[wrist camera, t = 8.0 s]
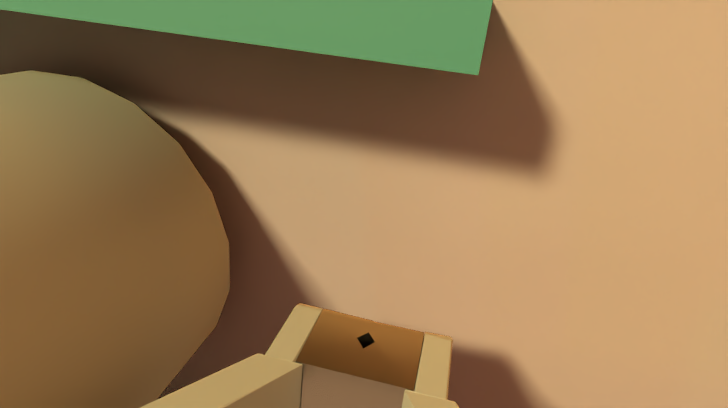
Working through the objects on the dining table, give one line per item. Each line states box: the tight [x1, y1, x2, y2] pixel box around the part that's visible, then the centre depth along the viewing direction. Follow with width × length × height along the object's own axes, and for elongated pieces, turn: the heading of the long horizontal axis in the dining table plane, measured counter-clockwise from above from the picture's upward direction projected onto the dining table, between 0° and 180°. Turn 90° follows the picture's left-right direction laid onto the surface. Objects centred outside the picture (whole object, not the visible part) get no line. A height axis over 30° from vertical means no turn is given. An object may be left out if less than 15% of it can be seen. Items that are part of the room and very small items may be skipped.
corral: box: [0, 0, 493, 75], centre depth 11 cm, size 13×13×2 cm
